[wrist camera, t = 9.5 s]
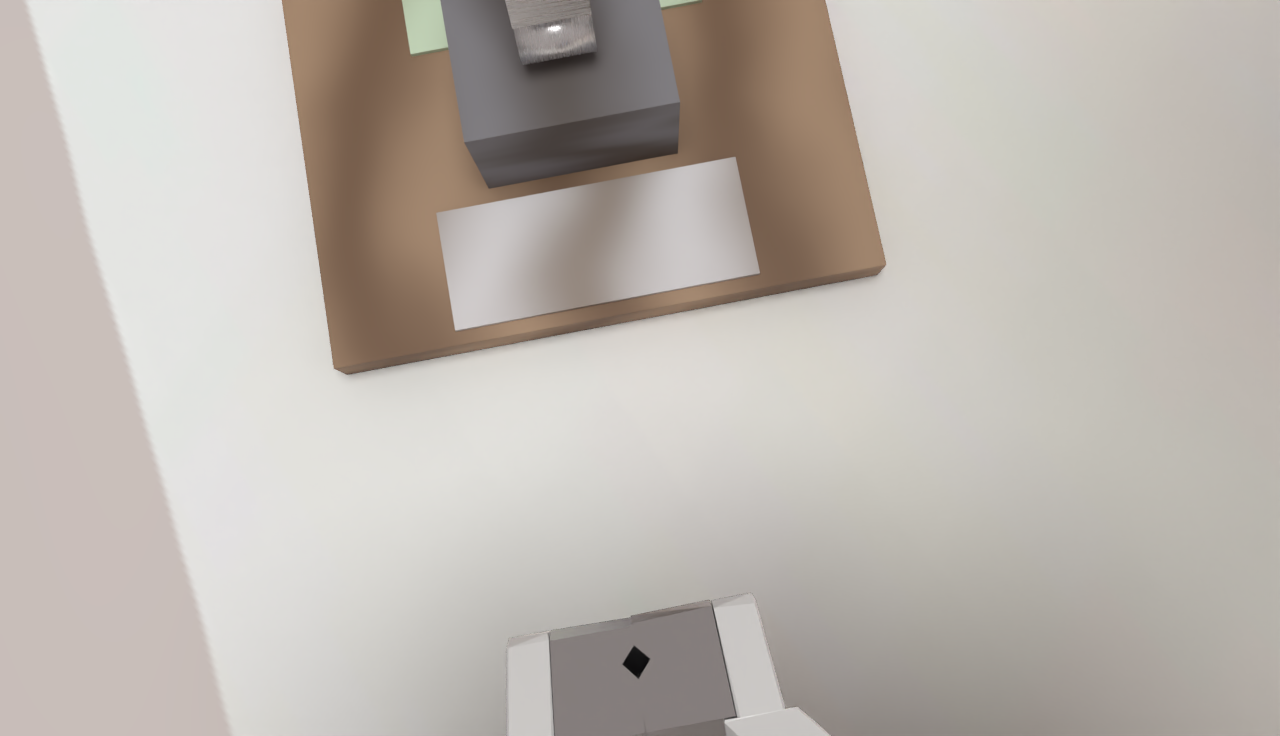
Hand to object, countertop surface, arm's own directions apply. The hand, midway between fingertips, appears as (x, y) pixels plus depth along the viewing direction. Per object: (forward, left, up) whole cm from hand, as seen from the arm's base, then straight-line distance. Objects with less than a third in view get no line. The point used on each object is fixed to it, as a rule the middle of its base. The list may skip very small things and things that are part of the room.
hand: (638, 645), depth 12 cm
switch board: (-4, -16, -23) cm, 29 cm away
